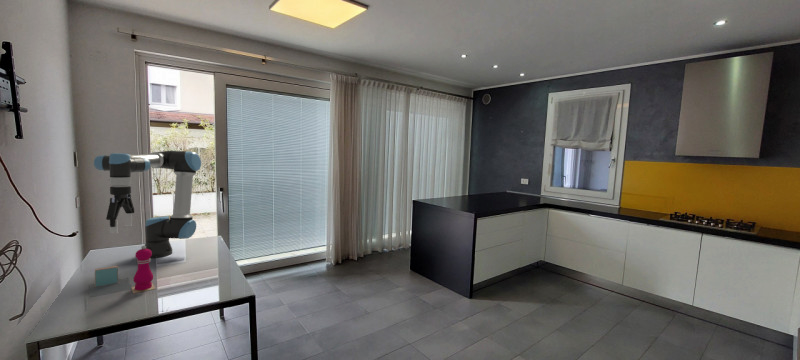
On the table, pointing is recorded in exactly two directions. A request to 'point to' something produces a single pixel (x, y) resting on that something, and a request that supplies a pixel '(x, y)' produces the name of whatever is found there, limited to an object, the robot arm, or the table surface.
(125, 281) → the mat
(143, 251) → the pepper mill
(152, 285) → the cork pad
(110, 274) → the tile
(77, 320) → the table surface
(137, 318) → the table surface
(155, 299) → the table surface
